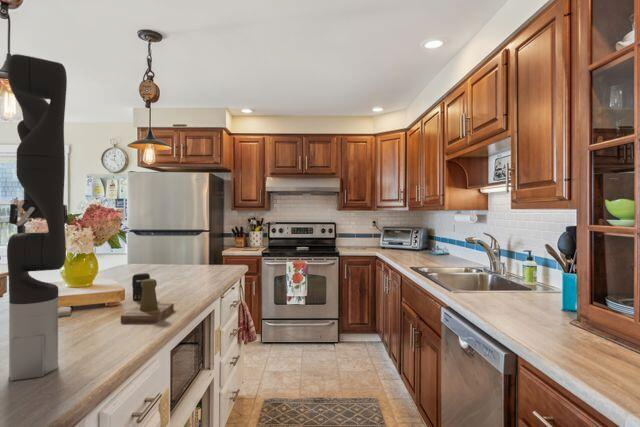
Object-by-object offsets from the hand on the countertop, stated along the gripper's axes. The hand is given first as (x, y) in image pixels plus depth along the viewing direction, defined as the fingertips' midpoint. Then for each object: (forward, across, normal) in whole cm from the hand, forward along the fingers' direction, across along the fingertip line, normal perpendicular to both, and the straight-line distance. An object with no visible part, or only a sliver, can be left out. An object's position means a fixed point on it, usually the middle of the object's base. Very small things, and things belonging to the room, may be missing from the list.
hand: (39, 237), depth 110 cm
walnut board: (+30, +30, +10) cm, 44 cm away
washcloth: (+31, -4, +28) cm, 42 cm away
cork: (+28, +30, +10) cm, 42 cm away
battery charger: (+30, +25, +38) cm, 55 cm away
